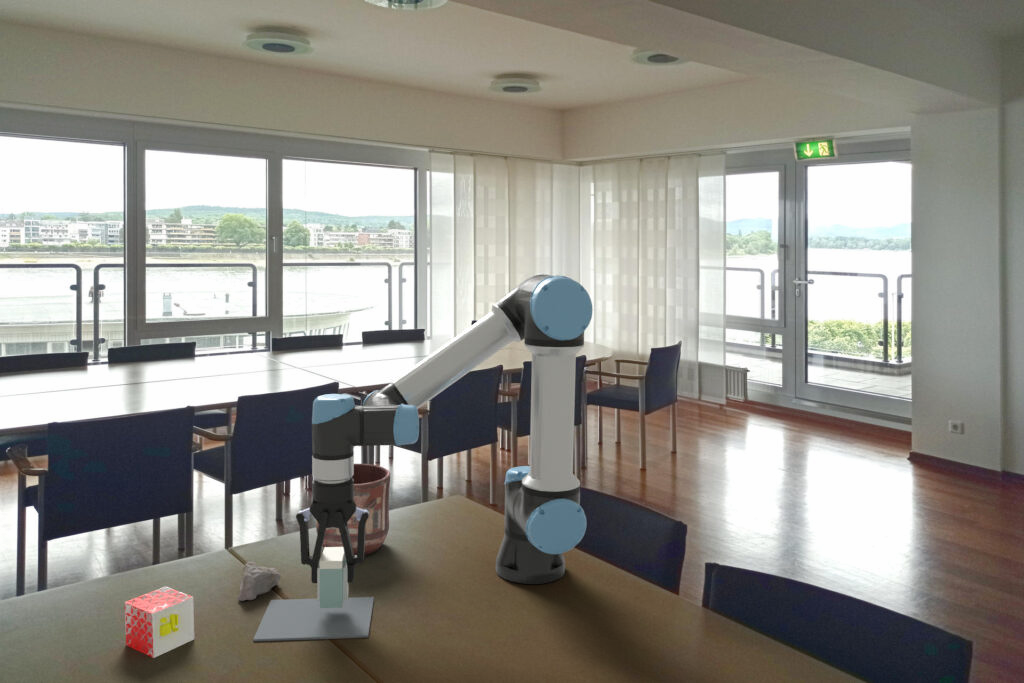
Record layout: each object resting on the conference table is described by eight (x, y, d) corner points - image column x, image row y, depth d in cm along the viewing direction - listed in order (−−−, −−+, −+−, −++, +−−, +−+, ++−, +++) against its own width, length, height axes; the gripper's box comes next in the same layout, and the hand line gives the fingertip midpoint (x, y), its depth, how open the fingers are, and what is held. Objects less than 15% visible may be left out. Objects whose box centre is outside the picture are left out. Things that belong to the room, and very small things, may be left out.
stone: (271, 603, 155) (270, 574, 155) (229, 603, 155) (228, 574, 154) (283, 582, 165) (282, 555, 164) (244, 582, 165) (243, 555, 164)
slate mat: (373, 598, 157) (373, 596, 157) (368, 637, 142) (368, 635, 142) (270, 601, 155) (270, 599, 155) (253, 641, 139) (253, 639, 139)
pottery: (299, 546, 185) (298, 471, 183) (364, 529, 197) (364, 459, 194) (338, 570, 172) (338, 489, 170) (405, 550, 184) (406, 475, 182)
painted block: (345, 591, 153) (345, 546, 152) (341, 607, 146) (341, 560, 145) (324, 592, 153) (324, 547, 152) (319, 608, 146) (319, 561, 145)
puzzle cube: (153, 658, 133) (152, 613, 132) (126, 645, 137) (124, 602, 137) (194, 639, 140) (193, 596, 139) (167, 627, 144) (166, 586, 143)
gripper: (380, 472, 151) (379, 589, 154) (289, 472, 150) (290, 591, 152) (378, 483, 144) (377, 606, 147) (282, 484, 142) (283, 608, 145)
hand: (333, 598), depth 149 cm, fingers closed on painted block, 4 cm apart
